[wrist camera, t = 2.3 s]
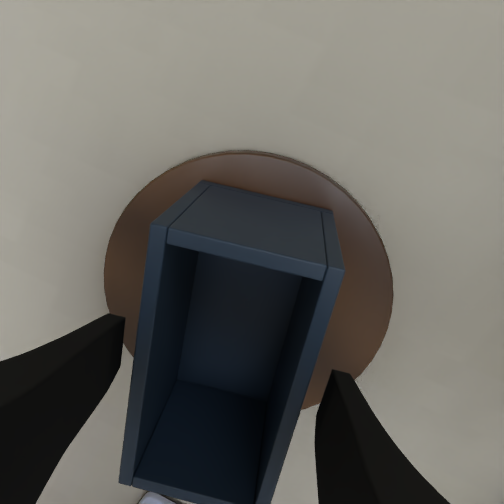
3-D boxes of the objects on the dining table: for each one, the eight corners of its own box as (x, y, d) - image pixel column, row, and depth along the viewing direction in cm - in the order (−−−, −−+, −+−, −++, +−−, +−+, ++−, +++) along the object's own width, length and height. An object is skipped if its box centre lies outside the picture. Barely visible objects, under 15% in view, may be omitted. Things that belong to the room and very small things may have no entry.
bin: (270, 423, 21) (257, 544, 15) (165, 396, 21) (114, 506, 16) (333, 210, 17) (346, 270, 11) (201, 179, 17) (149, 223, 11)
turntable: (284, 445, 23) (284, 457, 22) (70, 320, 21) (61, 328, 21) (454, 259, 18) (461, 267, 17) (191, 85, 17) (186, 85, 16)
